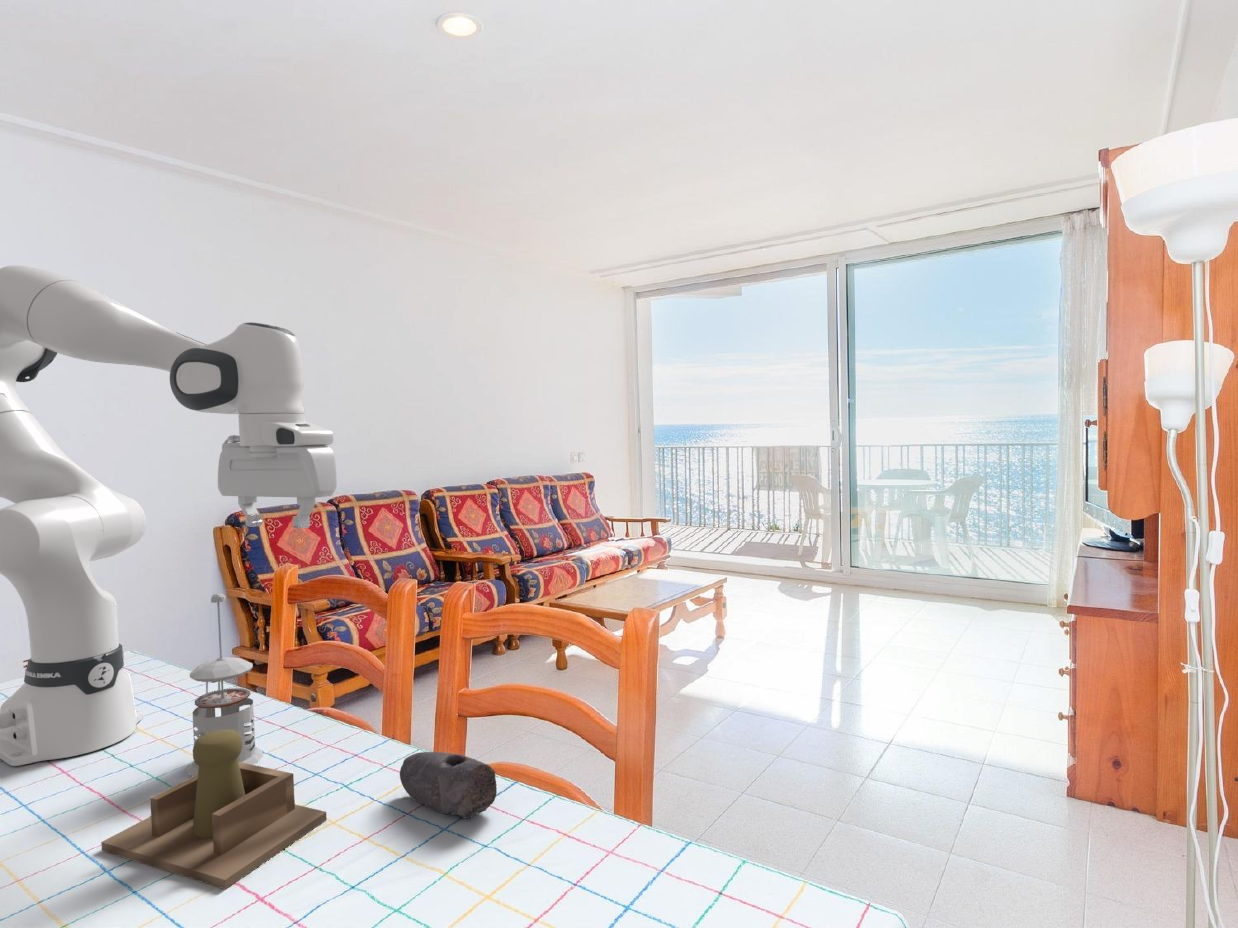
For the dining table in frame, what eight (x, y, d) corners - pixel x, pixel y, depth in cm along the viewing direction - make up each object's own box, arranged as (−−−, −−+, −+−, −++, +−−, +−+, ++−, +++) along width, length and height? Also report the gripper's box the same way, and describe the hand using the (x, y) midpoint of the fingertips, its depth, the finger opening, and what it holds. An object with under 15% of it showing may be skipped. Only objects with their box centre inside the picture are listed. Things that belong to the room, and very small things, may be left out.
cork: (223, 840, 81) (219, 747, 80) (179, 834, 82) (174, 743, 82) (261, 812, 87) (257, 725, 86) (219, 807, 88) (215, 721, 88)
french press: (194, 785, 96) (185, 605, 95) (178, 756, 105) (170, 591, 104) (271, 761, 103) (263, 592, 101) (250, 736, 111) (243, 581, 110)
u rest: (101, 850, 81) (99, 803, 81) (211, 791, 94) (209, 751, 94) (225, 888, 74) (223, 838, 73) (326, 819, 87) (324, 776, 86)
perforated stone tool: (387, 800, 91) (385, 748, 91) (418, 782, 95) (417, 733, 95) (471, 834, 83) (469, 776, 83) (501, 813, 87) (500, 758, 87)
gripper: (203, 435, 104) (208, 527, 105) (308, 432, 97) (312, 532, 97) (240, 435, 110) (244, 522, 111) (342, 432, 103) (345, 526, 103)
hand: (277, 527), depth 104 cm, fingers open, 8 cm apart
